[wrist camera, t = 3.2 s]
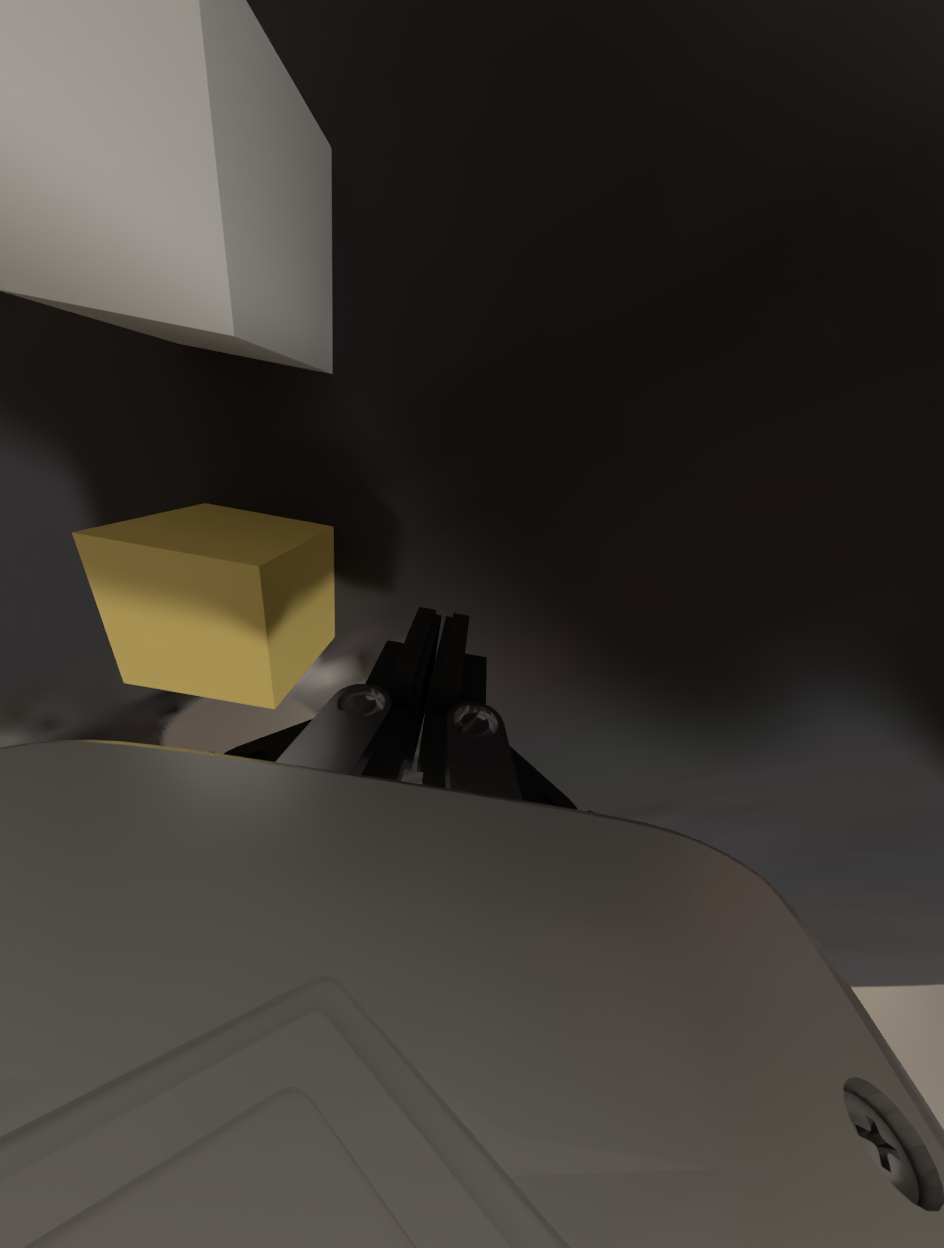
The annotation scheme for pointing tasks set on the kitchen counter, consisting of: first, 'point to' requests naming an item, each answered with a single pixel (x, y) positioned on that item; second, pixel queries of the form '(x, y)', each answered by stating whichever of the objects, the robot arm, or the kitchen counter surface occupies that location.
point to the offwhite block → (164, 176)
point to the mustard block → (213, 599)
